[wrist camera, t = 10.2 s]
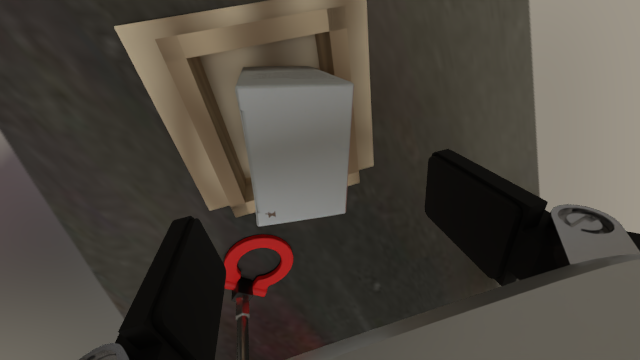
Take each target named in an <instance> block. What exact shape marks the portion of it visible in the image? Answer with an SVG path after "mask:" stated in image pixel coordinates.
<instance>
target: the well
mask: <svg viewBox="0 0 640 360" xmlns="http://www.w3.org/2000/svg"><path fill="white" fill-rule="evenodd" d="M114 28H115V30H116V32H117V34H118V36H119V38H120V40H121V41H122V43H123V45H124V47H125V49H126V51H127V53H128V55H129V57H130V59H131V61H132V63H133V65H134V66H135V68H136V70H137V72H138V74H139V76H140V78H141V80H142V82H143V84H144V86H145V88H146V89H147V91H148V93H149V95H150V97H151V99H152V101H153V103H154V105H155V107H156V109H157V111H158V112H159V114H160V116H161V118H162V120H163V122H164V124H165V126H166V128H167V130H168V132H169V134H170V136H171V137H172V139H173V141H174V143H175V145H176V147H177V149H178V151H179V153H180V155H181V157H182V159H183V160H184V162H185V164H186V166H187V168H188V170H189V172H190V174H191V176H192V178H193V180H194V182H195V184H196V185H197V187H198V189H199V191H200V193H201V195H202V197H203V199H204V201H205V203H206V205H207V207H208V208H209V210H210V211H211V210H214V209H218V208H222V207H225V206H229V205H230V206H231V208H232V210H233V212H234V215H235V217H239V216H243V215H246V214H250V213H254V212H256V210H255V202H254V194H253V188H252V181H251V175H250V169H249V162H248V156H247V150H246V144H245V138H244V132H243V127H242V121H241V116H240V111H239V106H238V102H237V97H236V93H235V87H236V84H237V81H238V79H239V76H240V74H241V71H242V69H243V67H258V66H310V67H313V68H316V69H318V70H321V71H324V72H327V73H329V74H331V75H334V76H336V77H339V78H342V79H344V80H347V81H350V82H352V83H353V84H354V94H353V109H352V123H351V139H350V154H349V170H348V186H350V185H353V184H357V183H360V180H359V170H361V169H364V168H368V167H372V166H374V161H373V138H372V115H371V92H370V69H369V46H368V23H367V0H269V1H263V2H257V3H251V4H245V5H239V6H233V7H227V8H221V9H215V10H209V11H203V12H197V13H191V14H185V15H179V16H173V17H167V18H161V19H155V20H149V21H143V22H137V23H131V24H126V25H120V26H114Z"/></svg>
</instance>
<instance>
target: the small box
mask: <svg viewBox="0 0 640 360" xmlns="http://www.w3.org/2000/svg"><path fill="white" fill-rule="evenodd" d="M235 93H236V97H237V102H238V106H239V111H240V116H241V121H242V127H243V132H244V138H245V144H246V150H247V156H248V162H249V169H250V175H251V181H252V188H253V194H254V202H255V210H256V220H257V226H266V225H273V224H280V223H287V222H293V221H299V220H306V219H312V218H319V217H326V216H332V215H337V214H344V213H346V201H347V186H348V170H349V154H350V139H351V123H352V109H353V94H354V84H353V83H352V82H350V81H347V80H344V79H342V78H339V77H336V76H334V75H331V74H329V73H327V72H324V71H321V70H318V69H316V68H313V67H310V66H258V67H243V69H242V71H241V74H240V76H239V79H238V81H237V84H236V87H235Z"/></svg>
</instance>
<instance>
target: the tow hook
mask: <svg viewBox="0 0 640 360" xmlns="http://www.w3.org/2000/svg"><path fill="white" fill-rule="evenodd" d="M256 248H270V249H273V250H275V251H277V252H278V253H279V254H280V256H281V261H280V264H279V265H278V267H277V268H276V269H275V270H274V271H272V272H271V273H269V274H266V275H264V276H259V277H257V278H256V279H255V281H254V282H253V283H252V281H249V280H245V279H241V271H239V269H238V267H237V263H238V261H239V259H240V257H241V256H243V255H244V254H245V253H246V252H248V251H250V250H253V249H256ZM292 264H293V254H292V250H291V247H290V246H289V245H288V243H287V242H286V241H284V240H283V239H281V238H279V237H276V236H273V235H264V234H263V235H254V236H251V237H248V238H245V239H243V240H241V241H239V242H237V243H236V244H235V245H234V246H233V247H232V248H230V249H229V251H228V253H227V254H226V256H225V260H224V266H225V268H226V281H225V288H226V289H230V290H232V301H234V302H236V321H237V360H249V334H248V319H249V301H250V300H251V298H252V297H253V295H257V296H261V297H264V296H265V295H266V292H267V288H268V286H269V285H272V284H274V283H276V282H278V281H279V280H281V279H282V278H283V277H284V276H285V275H286V274H287V273H288V272H289V270H290V269H291V266H292Z"/></svg>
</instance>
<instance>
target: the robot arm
mask: <svg viewBox="0 0 640 360" xmlns="http://www.w3.org/2000/svg"><path fill="white" fill-rule="evenodd" d="M546 205H547V201H545V200H543V199H541V198H539V197H538V196H536V195H534V194H532V193H530V192H528V191H526V190H524V189H523V188H521V187H519V186H517V185H515V184H513V183H511V182H510V181H508V180H506V179H504V178H502V177H500V176H498V175H496V174H495V173H493V172H491V171H489V170H487V169H485V168H483V167H482V166H480V165H478V164H476V163H474V162H472V161H470V160H468V159H467V158H465V157H463V156H461V155H459V154H457V153H455V152H454V151H452V150H449V149H446V150H442V151H438V152H434V153H433V154H432V157H430V158H429V161H428V174H427V187H426V199H425V212H426V214H427V216H428V217H429V218H430V219H431V220H432V221H433V222H434V223H435V224H436V225H437V226H438V227H439V228H440V229H441V230H442V231H443V232H444V233H445V234H446V235H447V236H448V237H449V238H450V239H451V240H452V241H453V242H454V243H455V244H456V245H457V246H458V247H459V248H460V249H461V250H462V251H463V252H464V253H465V254H466V255H467V256H468V257H469V258H470V259H471V260H472V261H473V262H474V263H475V264H476V265H477V266H478V267H479V268H480V269H481V270H482V271H483V272H484V273H485V274H486V275H487V276H488V277H490V278H494V279H495V280H496V281H497V282H498V283H499V284H500V285H501V286H502V287H499V288H496V289H493V290H490V291H487V292H484V293H481V294H478V295H475V296H472V297H469V298H466V299H463V300H460V301H457V302H454V303H451V304H448V305H445V306H442V307H439V308H436V309H433V310H430V311H427V312H424V313H421V314H418V315H415V316H412V317H409V318H406V319H403V320H400V321H397V322H394V323H391V324H388V325H385V326H382V327H379V328H376V329H374V330H371V331H368V332H365V333H362V334H359V335H356V336H353V337H350V338H347V339H344V340H341V341H338V342H335V343H332V344H330V345H327V346H324V347H321V348H318V349H315V350H312V351H309V352H306V353H303V354H300V355H298V356H295V357H292V358H289V359H286V360H640V234H637V233H632V232H627V231H625V229H624V228H623V227H622V225H621V224H620V223H619V222H618V221H617V220H616V219H615V218H613V217H611V216H609V215H608V214H606V213H604V212H601V211H599V210H596V209H593V208H590V207H586V206H580V205H568V204H567V205H559V206H557V207H554V208H553V209H552V211H551V212H550V213H549V212H548V211H546V210H545V208H546ZM225 281H226V268H225V266H224V264H223V262H222V260H221V258H220V256H219V255H218V253H217V251H216V249H215V247H214V246H213V244H212V242H211V240H210V238H209V236H208V235H207V233H206V231H205V229H204V227H203V226H202V224H201V222H200V220H199V219H197V218H196V219H194V218H193V217H192V216H188V217H185V218H181V219H177V220H174V221H173V222H172V223H171V225H170V228H169V230H168V232H167V234H166V236H165V238H164V240H163V242H162V244H161V246H160V248H159V250H158V252H157V254H156V256H155V258H154V260H153V262H152V264H151V266H150V268H149V270H148V272H147V274H146V276H145V278H144V280H143V282H142V285H141V287H140V289H139V291H138V293H137V295H136V297H135V299H134V301H133V303H132V305H131V307H130V309H129V311H128V313H127V315H126V317H125V319H124V321H123V323H122V325H121V327H120V329H119V331H118V332H119V336H118V338H117V340H116V342H115V343H110V344H105V345H102V346H100V347H98V348H95V349H93V350H92V351H90V352H89V353H87V354H86V355H84V356H83V357H82V358H80V359H79V360H214V359H215V352H216V345H217V338H218V331H219V324H220V317H221V309H222V302H223V295H224V288H225ZM507 284H508V285H507ZM504 285H505V286H504Z"/></svg>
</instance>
